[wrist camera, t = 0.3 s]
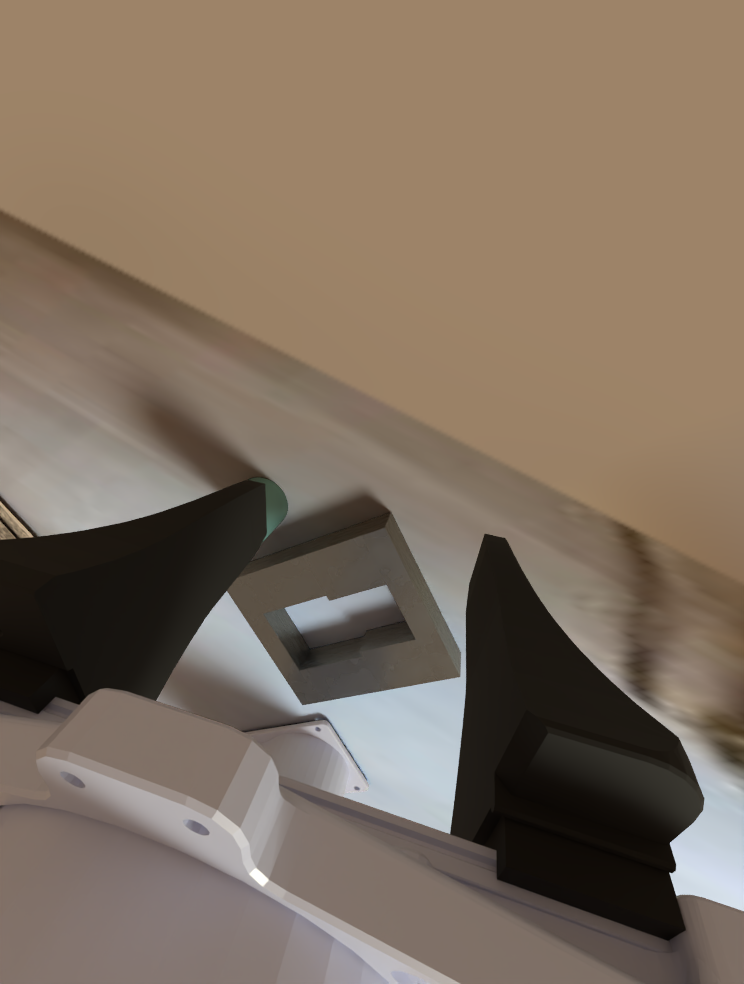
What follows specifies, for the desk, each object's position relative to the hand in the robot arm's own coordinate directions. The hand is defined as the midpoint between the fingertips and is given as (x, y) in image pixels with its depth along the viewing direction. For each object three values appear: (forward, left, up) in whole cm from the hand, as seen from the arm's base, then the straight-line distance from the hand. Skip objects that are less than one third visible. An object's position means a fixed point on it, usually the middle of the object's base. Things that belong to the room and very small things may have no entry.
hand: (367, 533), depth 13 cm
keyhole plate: (-9, -9, -10) cm, 16 cm away
